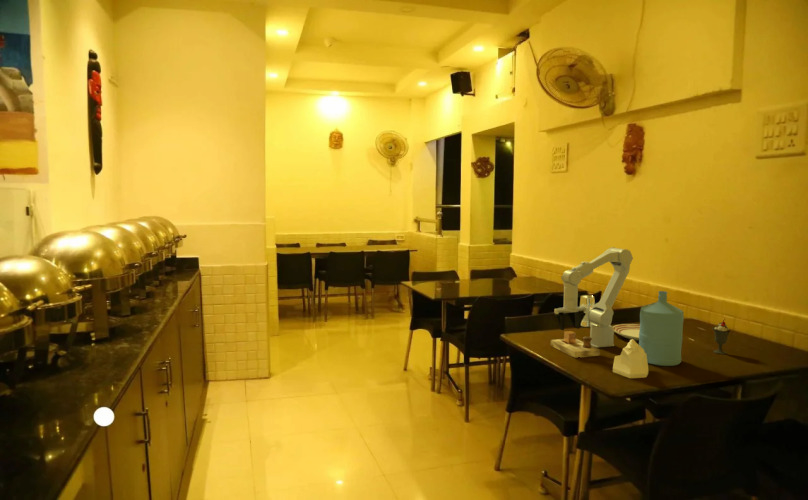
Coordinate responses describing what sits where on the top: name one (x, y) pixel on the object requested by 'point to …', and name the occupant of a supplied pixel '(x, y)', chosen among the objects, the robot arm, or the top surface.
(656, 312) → the water jug
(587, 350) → the board
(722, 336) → the sundae
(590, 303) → the beer glass
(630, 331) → the dinner plate
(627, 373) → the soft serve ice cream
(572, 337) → the brown wooden block
